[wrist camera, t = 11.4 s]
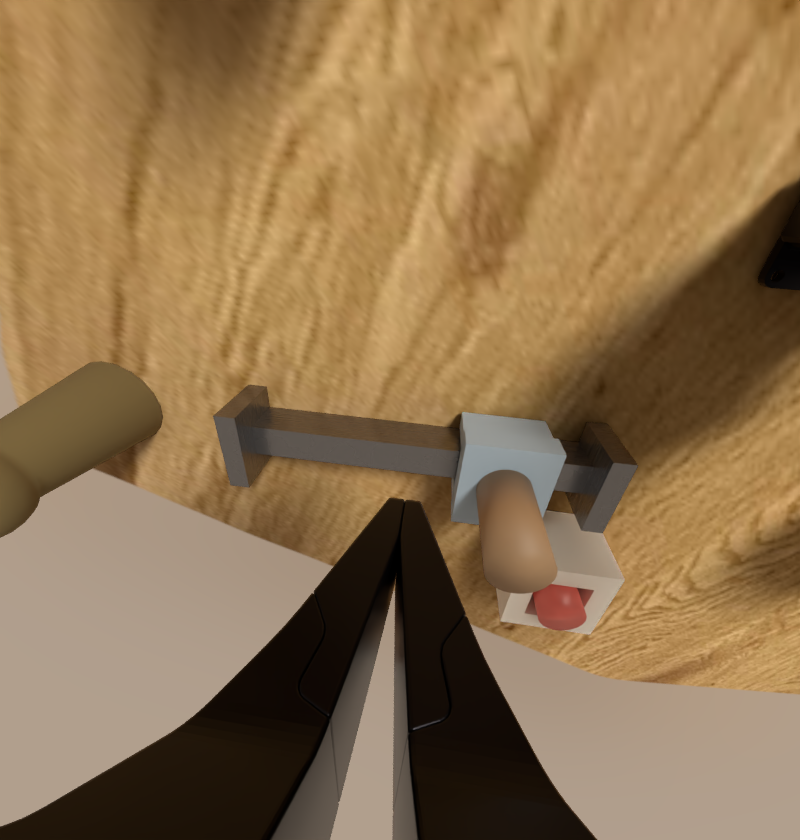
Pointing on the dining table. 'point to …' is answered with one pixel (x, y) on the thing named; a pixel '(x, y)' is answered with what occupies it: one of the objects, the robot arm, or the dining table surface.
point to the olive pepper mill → (70, 434)
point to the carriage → (508, 496)
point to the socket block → (571, 573)
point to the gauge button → (559, 607)
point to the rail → (406, 450)
